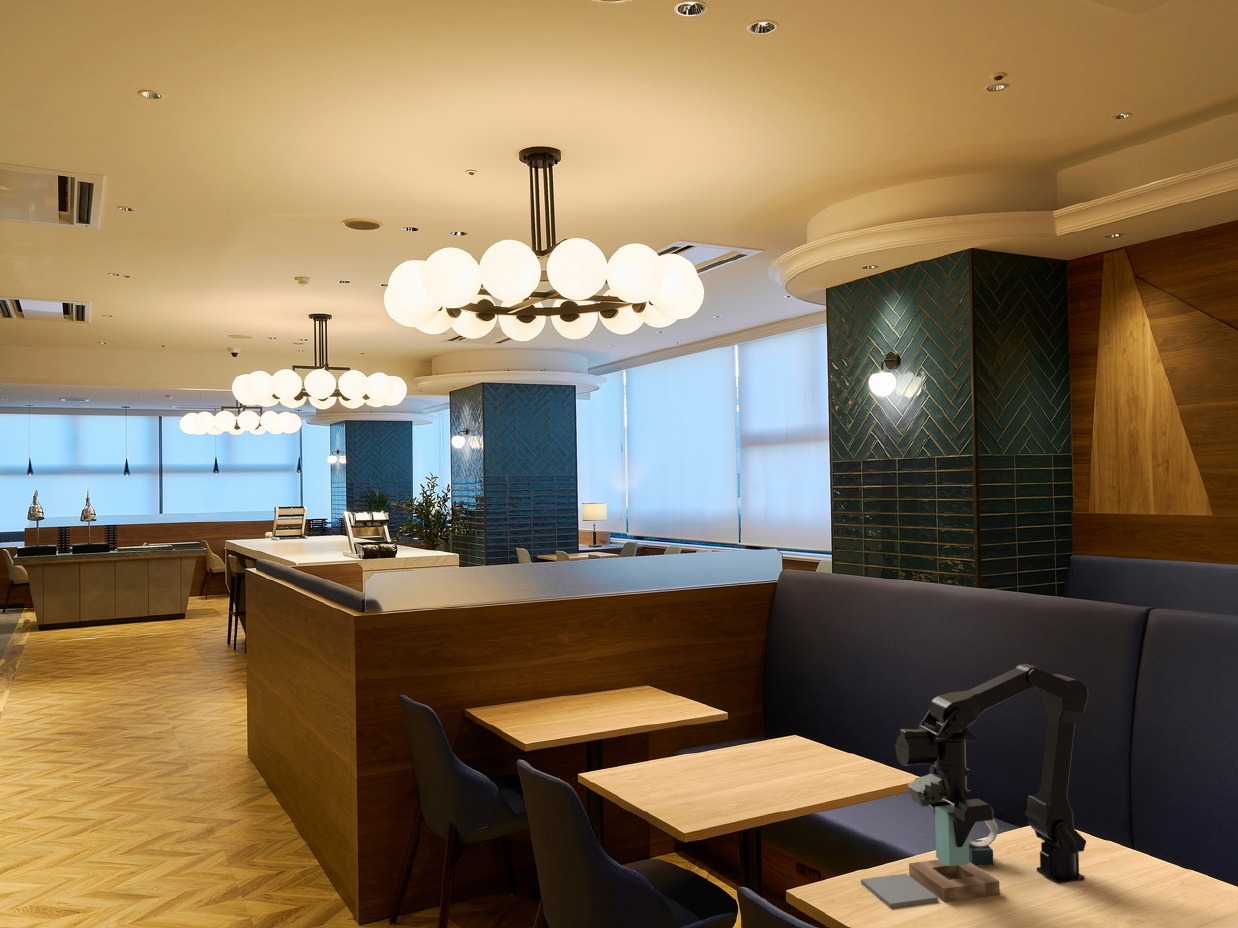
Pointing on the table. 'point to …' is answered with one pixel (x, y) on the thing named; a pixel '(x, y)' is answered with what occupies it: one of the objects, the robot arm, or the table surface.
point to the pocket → (954, 880)
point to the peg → (949, 839)
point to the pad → (899, 890)
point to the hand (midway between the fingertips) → (952, 842)
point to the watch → (983, 847)
